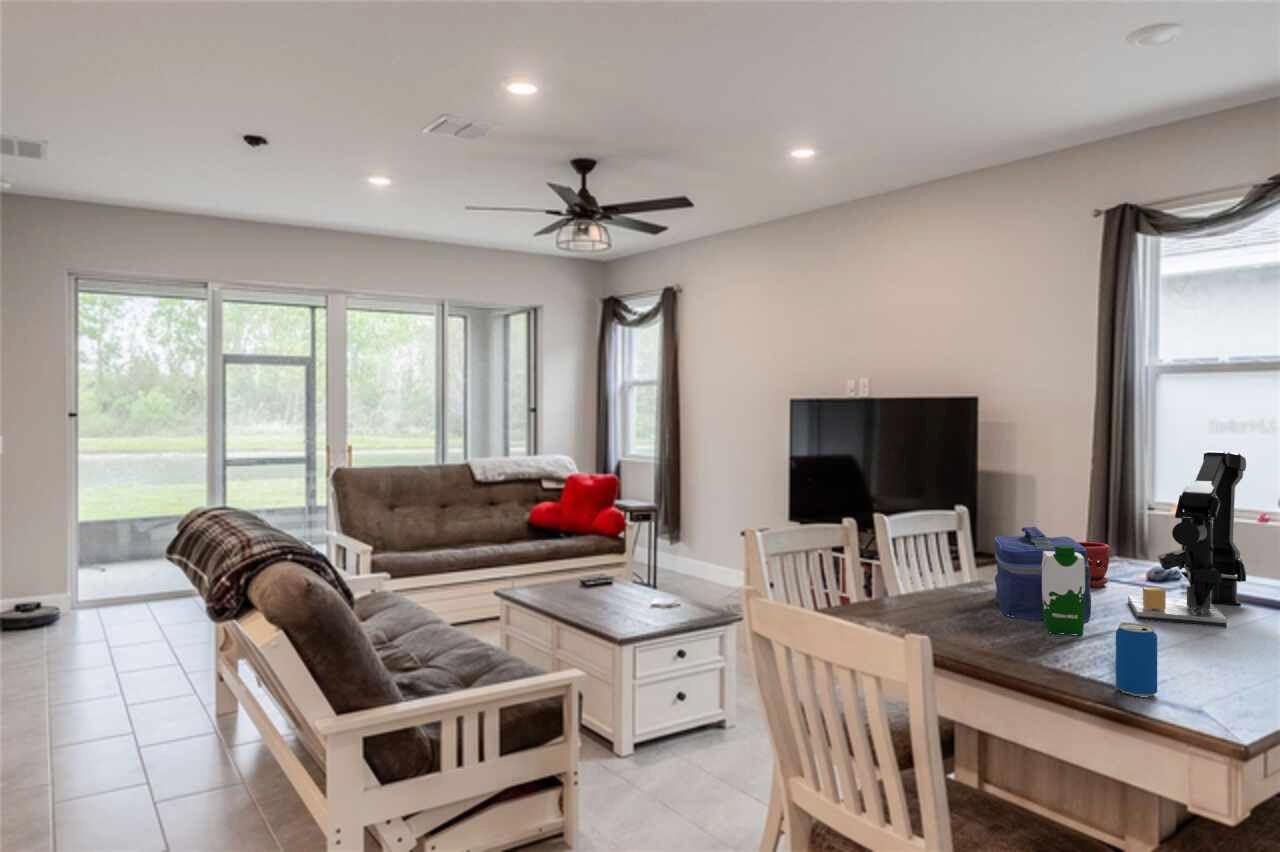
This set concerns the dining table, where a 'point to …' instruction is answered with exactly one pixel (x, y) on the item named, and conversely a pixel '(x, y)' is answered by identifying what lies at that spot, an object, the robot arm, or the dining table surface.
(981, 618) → the dining table surface
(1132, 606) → the panel
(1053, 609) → the milk carton
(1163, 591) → the orange fader
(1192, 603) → the black fader
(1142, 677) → the beverage can
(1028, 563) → the lunch bag
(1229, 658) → the dining table surface
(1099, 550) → the plant pot
